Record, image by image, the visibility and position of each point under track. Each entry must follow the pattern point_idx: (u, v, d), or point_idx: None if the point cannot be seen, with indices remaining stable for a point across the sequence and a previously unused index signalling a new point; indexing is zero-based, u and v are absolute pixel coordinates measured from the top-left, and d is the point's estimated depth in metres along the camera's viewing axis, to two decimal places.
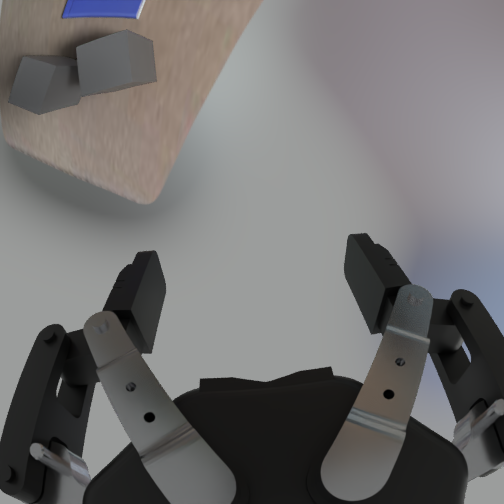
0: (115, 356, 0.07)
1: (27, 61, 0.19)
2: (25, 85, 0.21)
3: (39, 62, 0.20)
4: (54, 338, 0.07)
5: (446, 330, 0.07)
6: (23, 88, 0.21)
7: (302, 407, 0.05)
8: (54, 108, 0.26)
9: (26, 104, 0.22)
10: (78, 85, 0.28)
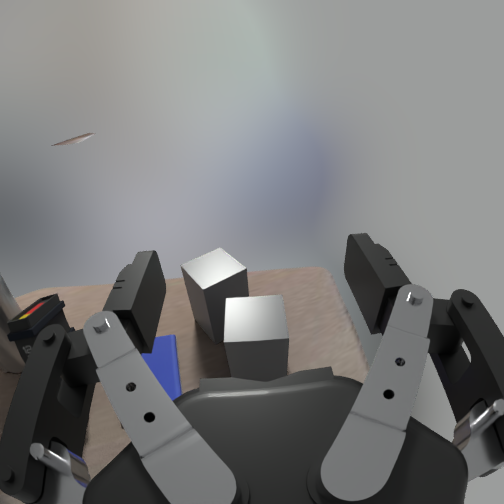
0: (115, 356, 0.07)
1: (229, 332, 0.27)
2: (258, 322, 0.28)
3: (226, 317, 0.29)
4: (54, 338, 0.07)
5: (446, 330, 0.07)
6: (262, 323, 0.28)
7: (302, 407, 0.05)
8: None
9: (279, 312, 0.29)
10: None
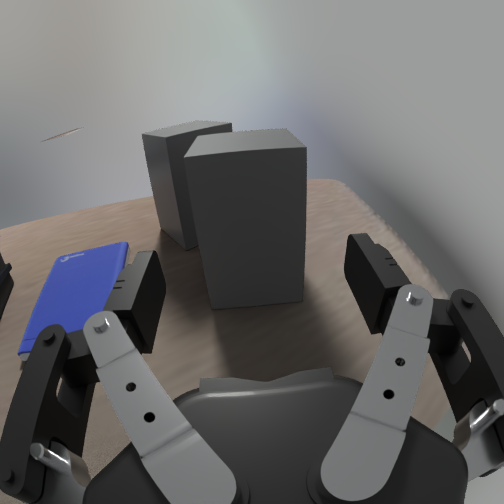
0: (115, 356, 0.07)
1: (196, 150, 0.14)
2: (248, 140, 0.15)
3: (195, 143, 0.16)
4: (54, 338, 0.07)
5: (446, 330, 0.07)
6: (256, 141, 0.15)
7: (302, 407, 0.05)
8: None
9: (283, 135, 0.16)
10: None
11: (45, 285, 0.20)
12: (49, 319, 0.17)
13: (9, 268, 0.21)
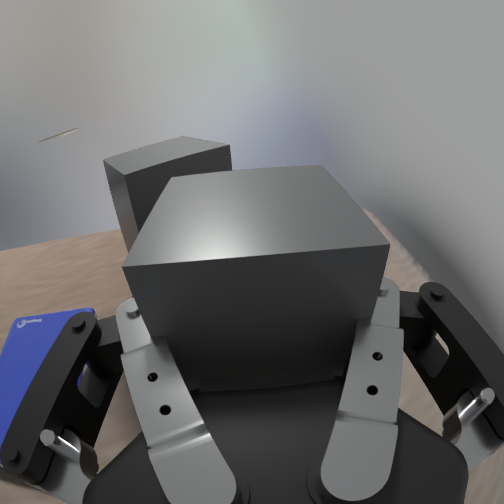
0: (143, 344, 0.07)
1: (153, 238, 0.07)
2: (262, 207, 0.08)
3: (160, 205, 0.09)
4: (84, 325, 0.08)
5: (414, 323, 0.08)
6: (278, 209, 0.08)
7: (302, 407, 0.05)
8: None
9: (325, 189, 0.09)
10: None
11: None
12: (2, 420, 0.09)
13: None
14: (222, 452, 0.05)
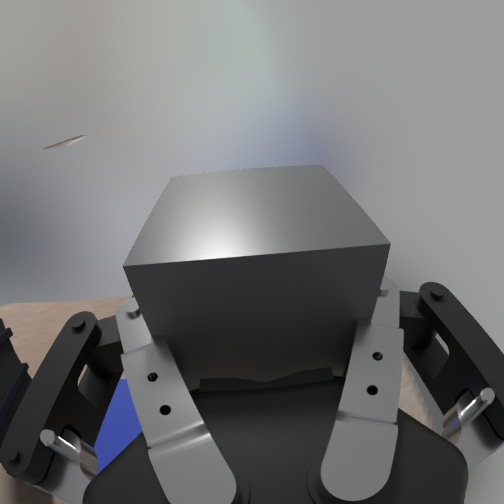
0: (143, 344, 0.07)
1: (153, 237, 0.07)
2: (262, 207, 0.08)
3: (160, 205, 0.09)
4: (84, 325, 0.08)
5: (414, 323, 0.08)
6: (279, 209, 0.08)
7: (302, 407, 0.05)
8: None
9: (325, 188, 0.09)
10: None
11: None
12: (102, 461, 0.17)
13: None
14: (222, 452, 0.05)
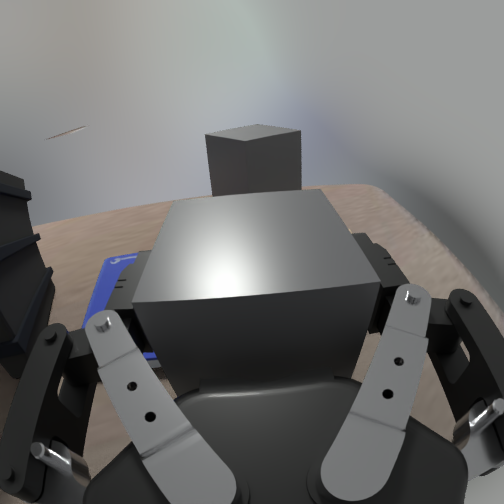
0: (117, 355, 0.07)
1: (158, 272, 0.07)
2: (261, 240, 0.08)
3: (163, 234, 0.09)
4: (56, 337, 0.07)
5: (444, 330, 0.07)
6: (277, 243, 0.08)
7: (302, 407, 0.05)
8: None
9: (322, 218, 0.09)
10: None
11: (96, 289, 0.21)
12: None
13: (51, 272, 0.22)
14: (213, 451, 0.05)
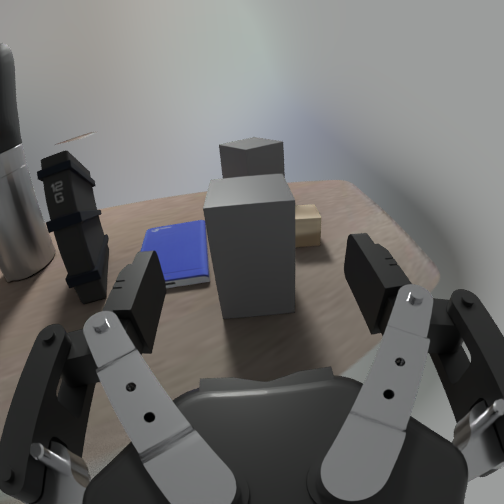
0: (115, 356, 0.07)
1: (211, 200, 0.20)
2: (251, 191, 0.21)
3: (210, 191, 0.22)
4: (54, 338, 0.07)
5: (446, 330, 0.07)
6: (257, 191, 0.21)
7: (302, 407, 0.05)
8: None
9: (279, 183, 0.22)
10: None
11: (143, 246, 0.34)
12: None
13: (107, 238, 0.35)
14: (213, 451, 0.05)
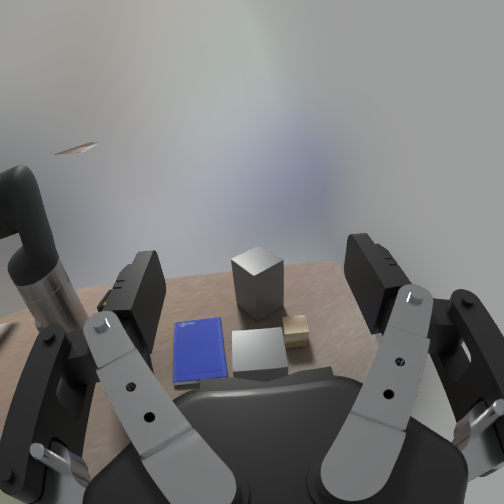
0: (115, 356, 0.07)
1: (237, 362, 0.31)
2: (261, 352, 0.32)
3: (234, 348, 0.32)
4: (54, 338, 0.07)
5: (446, 330, 0.07)
6: (265, 354, 0.31)
7: (302, 407, 0.05)
8: None
9: (279, 343, 0.33)
10: None
11: (175, 342, 0.45)
12: (188, 364, 0.41)
13: None
14: (213, 451, 0.05)
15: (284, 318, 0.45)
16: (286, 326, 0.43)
